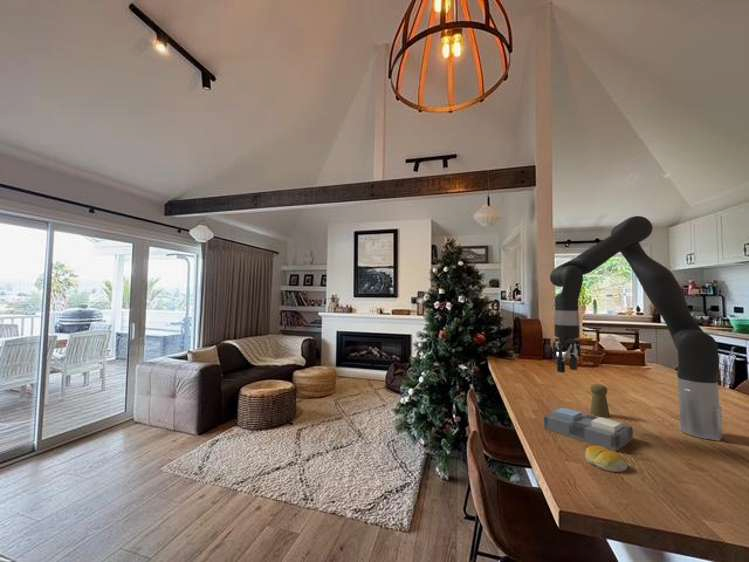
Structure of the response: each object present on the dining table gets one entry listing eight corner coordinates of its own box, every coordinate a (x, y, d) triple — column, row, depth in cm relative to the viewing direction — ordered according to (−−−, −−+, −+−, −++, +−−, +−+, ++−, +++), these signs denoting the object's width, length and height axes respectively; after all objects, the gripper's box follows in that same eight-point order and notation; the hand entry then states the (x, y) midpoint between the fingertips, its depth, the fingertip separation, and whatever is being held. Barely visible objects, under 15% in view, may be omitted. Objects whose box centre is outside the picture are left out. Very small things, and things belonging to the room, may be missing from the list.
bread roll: (601, 454, 90) (600, 439, 90) (633, 471, 81) (632, 454, 81) (576, 457, 88) (576, 442, 88) (607, 475, 79) (606, 458, 79)
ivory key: (622, 431, 98) (621, 422, 98) (614, 435, 94) (614, 427, 94) (599, 424, 103) (599, 416, 103) (591, 429, 99) (591, 420, 99)
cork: (613, 417, 117) (611, 387, 118) (594, 416, 118) (593, 386, 119) (604, 412, 123) (603, 383, 124) (587, 411, 124) (586, 382, 125)
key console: (632, 439, 99) (632, 426, 99) (615, 451, 91) (614, 437, 91) (564, 419, 115) (564, 408, 115) (544, 428, 107) (544, 416, 107)
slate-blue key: (581, 419, 107) (581, 412, 107) (573, 423, 103) (573, 415, 104) (562, 414, 112) (562, 407, 112) (554, 418, 108) (554, 410, 109)
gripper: (567, 325, 104) (568, 375, 103) (588, 323, 112) (589, 370, 111) (544, 323, 110) (545, 371, 109) (565, 322, 118) (566, 366, 117)
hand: (567, 370), depth 110 cm, fingers open, 8 cm apart
